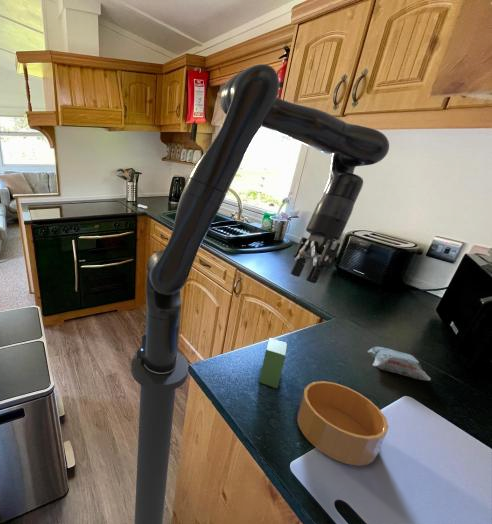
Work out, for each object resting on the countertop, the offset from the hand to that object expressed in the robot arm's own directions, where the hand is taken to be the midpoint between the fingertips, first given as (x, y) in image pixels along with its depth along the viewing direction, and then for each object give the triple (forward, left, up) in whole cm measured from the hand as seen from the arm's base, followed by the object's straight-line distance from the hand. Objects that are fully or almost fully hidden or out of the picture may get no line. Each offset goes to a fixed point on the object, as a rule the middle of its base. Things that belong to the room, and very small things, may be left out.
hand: (302, 278), depth 72 cm
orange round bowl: (+12, -18, -26) cm, 34 cm away
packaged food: (+28, +14, -26) cm, 41 cm away
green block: (-2, -8, -26) cm, 27 cm away
